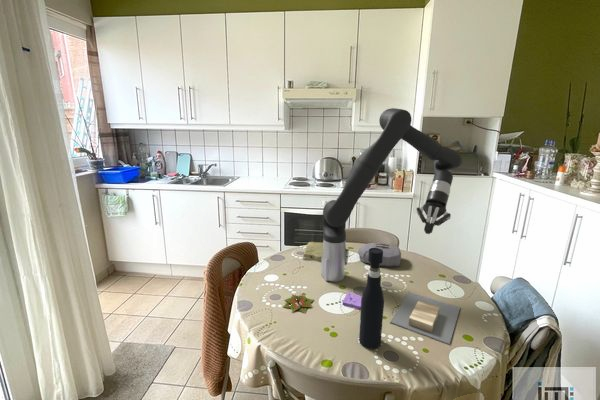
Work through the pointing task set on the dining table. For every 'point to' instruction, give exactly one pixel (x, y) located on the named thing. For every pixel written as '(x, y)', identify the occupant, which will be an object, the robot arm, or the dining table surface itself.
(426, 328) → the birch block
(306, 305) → the green leafy rosette
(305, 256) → the decorative tile
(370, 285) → the black water bottle
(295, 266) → the dining table surface
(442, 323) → the rubber mat
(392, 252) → the small grey backpack
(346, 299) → the sponges
